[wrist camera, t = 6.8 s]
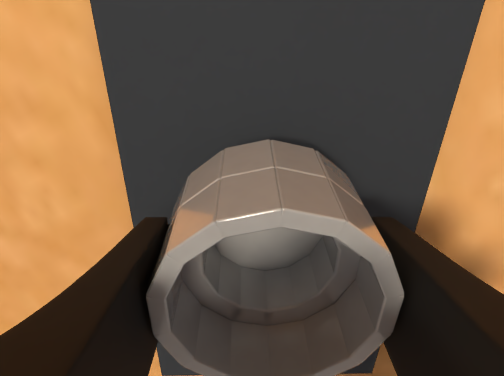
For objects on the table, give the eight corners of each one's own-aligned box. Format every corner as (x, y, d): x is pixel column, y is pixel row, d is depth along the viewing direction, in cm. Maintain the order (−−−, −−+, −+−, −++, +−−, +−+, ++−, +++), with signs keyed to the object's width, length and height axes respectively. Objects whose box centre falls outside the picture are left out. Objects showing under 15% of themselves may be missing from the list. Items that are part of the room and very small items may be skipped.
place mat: (513, -123, 9) (524, -127, 8) (369, 366, 19) (372, 373, 18) (70, -133, 8) (62, -138, 8) (163, 368, 18) (161, 376, 18)
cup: (368, 132, 10) (433, 208, 7) (339, 281, 13) (375, 389, 9) (168, 131, 10) (127, 208, 6) (185, 282, 13) (163, 392, 9)
